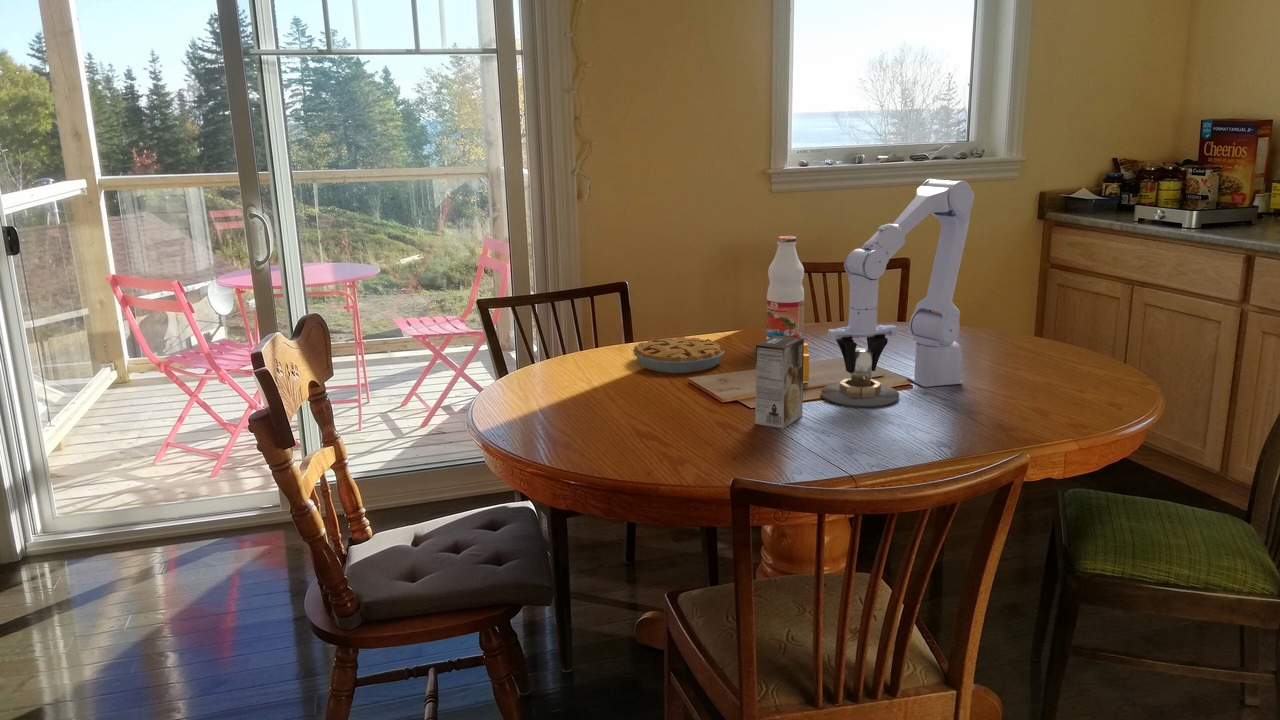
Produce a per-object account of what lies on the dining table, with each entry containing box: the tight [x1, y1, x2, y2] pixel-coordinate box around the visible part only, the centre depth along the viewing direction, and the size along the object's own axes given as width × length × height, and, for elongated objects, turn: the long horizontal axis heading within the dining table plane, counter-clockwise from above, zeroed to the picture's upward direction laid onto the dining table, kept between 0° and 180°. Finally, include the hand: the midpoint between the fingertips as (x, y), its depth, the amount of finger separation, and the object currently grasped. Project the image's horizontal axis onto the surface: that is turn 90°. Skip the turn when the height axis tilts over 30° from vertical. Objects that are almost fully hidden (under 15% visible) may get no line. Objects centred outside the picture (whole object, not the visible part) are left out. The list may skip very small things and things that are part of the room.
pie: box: [633, 336, 725, 374], centre depth 233 cm, size 22×22×5 cm
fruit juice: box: [766, 235, 805, 340], centre depth 245 cm, size 9×9×28 cm
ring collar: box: [820, 378, 900, 409], centre depth 202 cm, size 16×16×3 cm
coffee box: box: [754, 336, 805, 429], centre depth 186 cm, size 9×6×16 cm
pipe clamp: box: [803, 342, 810, 381], centre depth 219 cm, size 12×4×6 cm, turn 172°
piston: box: [849, 347, 873, 381], centre depth 200 cm, size 4×4×6 cm
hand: (860, 370), depth 201 cm, fingers closed on piston, 4 cm apart
